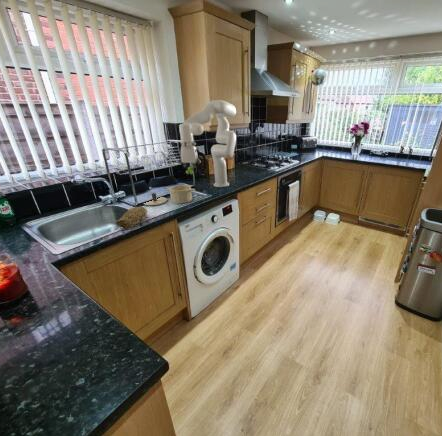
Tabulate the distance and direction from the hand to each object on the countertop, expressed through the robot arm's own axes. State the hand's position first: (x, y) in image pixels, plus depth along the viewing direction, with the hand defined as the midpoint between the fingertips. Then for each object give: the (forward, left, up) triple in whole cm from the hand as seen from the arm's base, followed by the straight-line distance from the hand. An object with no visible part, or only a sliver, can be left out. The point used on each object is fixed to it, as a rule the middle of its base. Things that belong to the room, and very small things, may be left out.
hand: (191, 172), depth 161 cm
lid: (+11, -23, -17) cm, 31 cm away
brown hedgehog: (+41, -19, -18) cm, 48 cm away
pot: (+5, -7, -18) cm, 20 cm away
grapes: (+1, 0, 0) cm, 1 cm away
